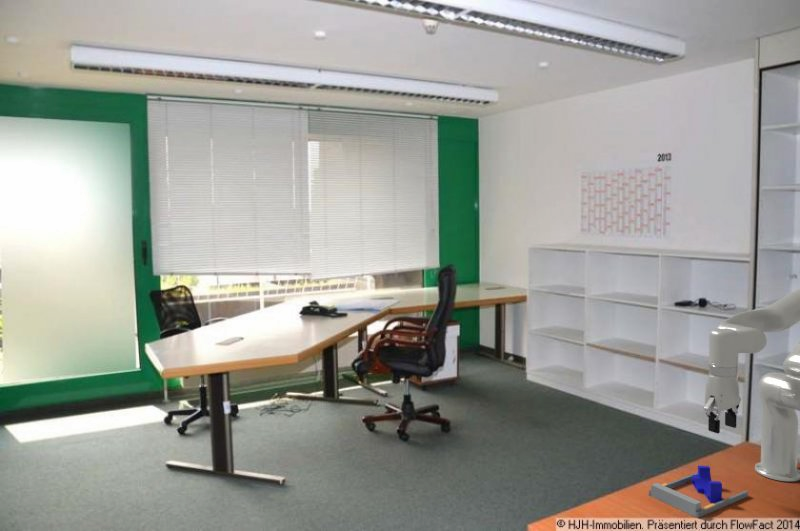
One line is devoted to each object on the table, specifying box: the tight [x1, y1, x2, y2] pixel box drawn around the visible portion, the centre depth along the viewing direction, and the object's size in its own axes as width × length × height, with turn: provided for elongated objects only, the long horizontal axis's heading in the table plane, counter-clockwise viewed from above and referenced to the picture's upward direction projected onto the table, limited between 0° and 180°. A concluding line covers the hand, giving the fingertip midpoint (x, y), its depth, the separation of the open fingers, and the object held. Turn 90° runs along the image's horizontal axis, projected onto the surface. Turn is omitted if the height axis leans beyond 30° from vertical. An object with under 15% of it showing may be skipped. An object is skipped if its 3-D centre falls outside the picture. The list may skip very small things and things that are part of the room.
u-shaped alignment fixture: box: [648, 471, 749, 519], centre depth 174 cm, size 23×16×4 cm
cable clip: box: [691, 465, 723, 504], centre depth 175 cm, size 12×4×6 cm, turn 169°
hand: (722, 428), depth 178 cm, fingers open, 7 cm apart
